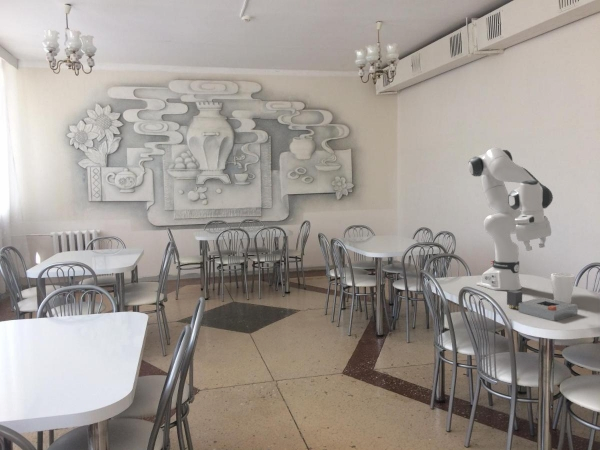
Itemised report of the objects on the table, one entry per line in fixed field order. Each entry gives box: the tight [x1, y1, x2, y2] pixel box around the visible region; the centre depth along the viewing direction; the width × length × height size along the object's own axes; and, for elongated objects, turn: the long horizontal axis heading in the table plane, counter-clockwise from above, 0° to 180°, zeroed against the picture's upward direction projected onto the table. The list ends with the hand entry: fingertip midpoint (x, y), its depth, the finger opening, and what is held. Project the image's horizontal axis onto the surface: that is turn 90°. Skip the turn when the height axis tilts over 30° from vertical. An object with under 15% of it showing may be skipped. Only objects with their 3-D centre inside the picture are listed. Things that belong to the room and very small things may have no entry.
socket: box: [518, 296, 579, 322], centre depth 204 cm, size 16×16×5 cm
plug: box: [506, 290, 523, 310], centre depth 213 cm, size 4×4×8 cm
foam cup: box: [550, 272, 576, 303], centre depth 219 cm, size 10×9×13 cm
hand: (535, 249), depth 211 cm, fingers open, 8 cm apart
